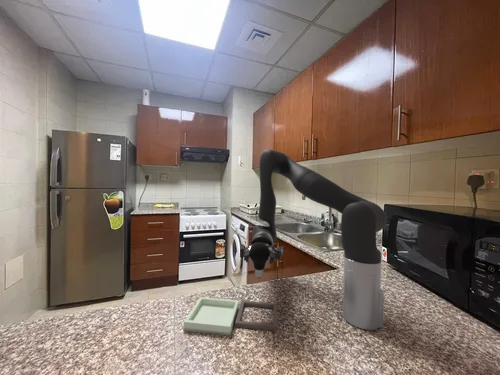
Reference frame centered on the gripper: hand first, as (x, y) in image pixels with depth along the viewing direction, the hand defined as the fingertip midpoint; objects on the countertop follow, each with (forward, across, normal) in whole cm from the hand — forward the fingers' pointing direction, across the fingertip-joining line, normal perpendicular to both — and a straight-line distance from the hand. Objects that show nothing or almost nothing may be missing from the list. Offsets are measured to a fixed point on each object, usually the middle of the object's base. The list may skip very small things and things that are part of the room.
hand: (258, 259), depth 57 cm
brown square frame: (-3, 0, +17) cm, 17 cm away
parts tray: (0, -12, +17) cm, 21 cm away
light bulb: (-2, 0, +6) cm, 7 cm away
